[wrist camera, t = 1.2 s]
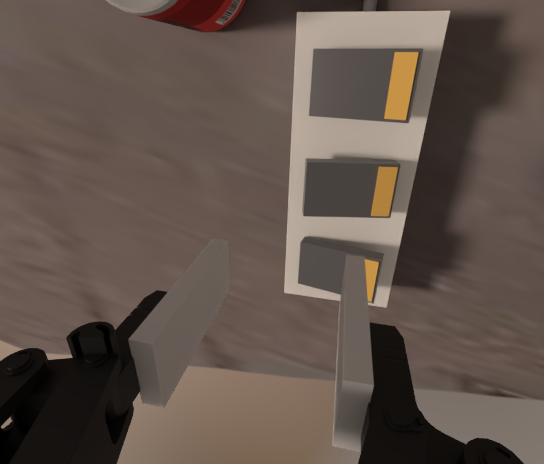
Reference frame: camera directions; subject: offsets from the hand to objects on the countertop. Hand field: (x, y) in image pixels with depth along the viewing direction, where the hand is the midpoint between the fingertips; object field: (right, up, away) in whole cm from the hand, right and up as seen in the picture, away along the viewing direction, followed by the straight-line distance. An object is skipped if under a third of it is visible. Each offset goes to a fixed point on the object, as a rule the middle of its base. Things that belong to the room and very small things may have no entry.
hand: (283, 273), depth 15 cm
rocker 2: (+5, -1, +15) cm, 16 cm away
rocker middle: (+6, +5, +11) cm, 14 cm away
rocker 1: (+6, +12, +8) cm, 16 cm away
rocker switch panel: (+7, +11, +15) cm, 19 cm away
